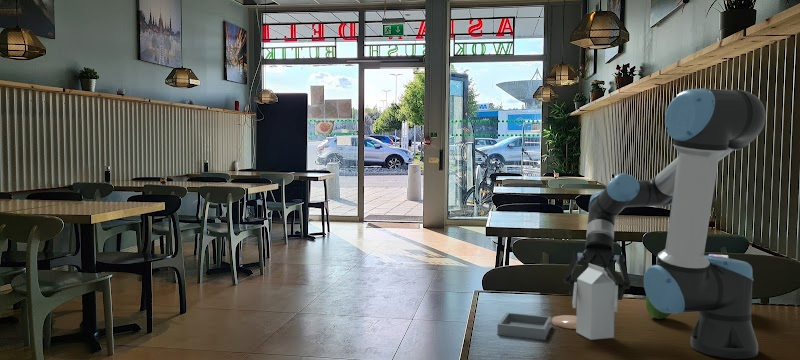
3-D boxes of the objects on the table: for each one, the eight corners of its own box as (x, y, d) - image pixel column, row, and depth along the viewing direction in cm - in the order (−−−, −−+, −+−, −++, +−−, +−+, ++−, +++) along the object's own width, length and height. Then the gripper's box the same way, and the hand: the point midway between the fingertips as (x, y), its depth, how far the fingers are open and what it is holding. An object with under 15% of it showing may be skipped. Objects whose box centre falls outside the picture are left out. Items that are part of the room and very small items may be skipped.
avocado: (644, 320, 185) (645, 279, 184) (646, 313, 192) (647, 274, 191) (673, 323, 181) (675, 282, 180) (674, 316, 188) (675, 277, 188)
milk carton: (590, 340, 166) (591, 269, 165) (575, 332, 173) (577, 263, 172) (614, 338, 168) (615, 267, 167) (598, 330, 175) (600, 262, 174)
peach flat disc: (599, 324, 180) (599, 321, 180) (574, 331, 174) (574, 328, 174) (568, 315, 189) (568, 313, 189) (543, 322, 183) (543, 319, 183)
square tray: (551, 326, 178) (551, 316, 178) (544, 339, 167) (544, 329, 166) (506, 321, 183) (507, 312, 183) (497, 334, 171) (497, 324, 171)
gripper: (641, 249, 179) (639, 319, 166) (560, 244, 187) (552, 310, 174) (642, 233, 174) (640, 303, 160) (558, 229, 182) (550, 295, 168)
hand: (594, 307), depth 167 cm, fingers closed on milk carton, 10 cm apart
